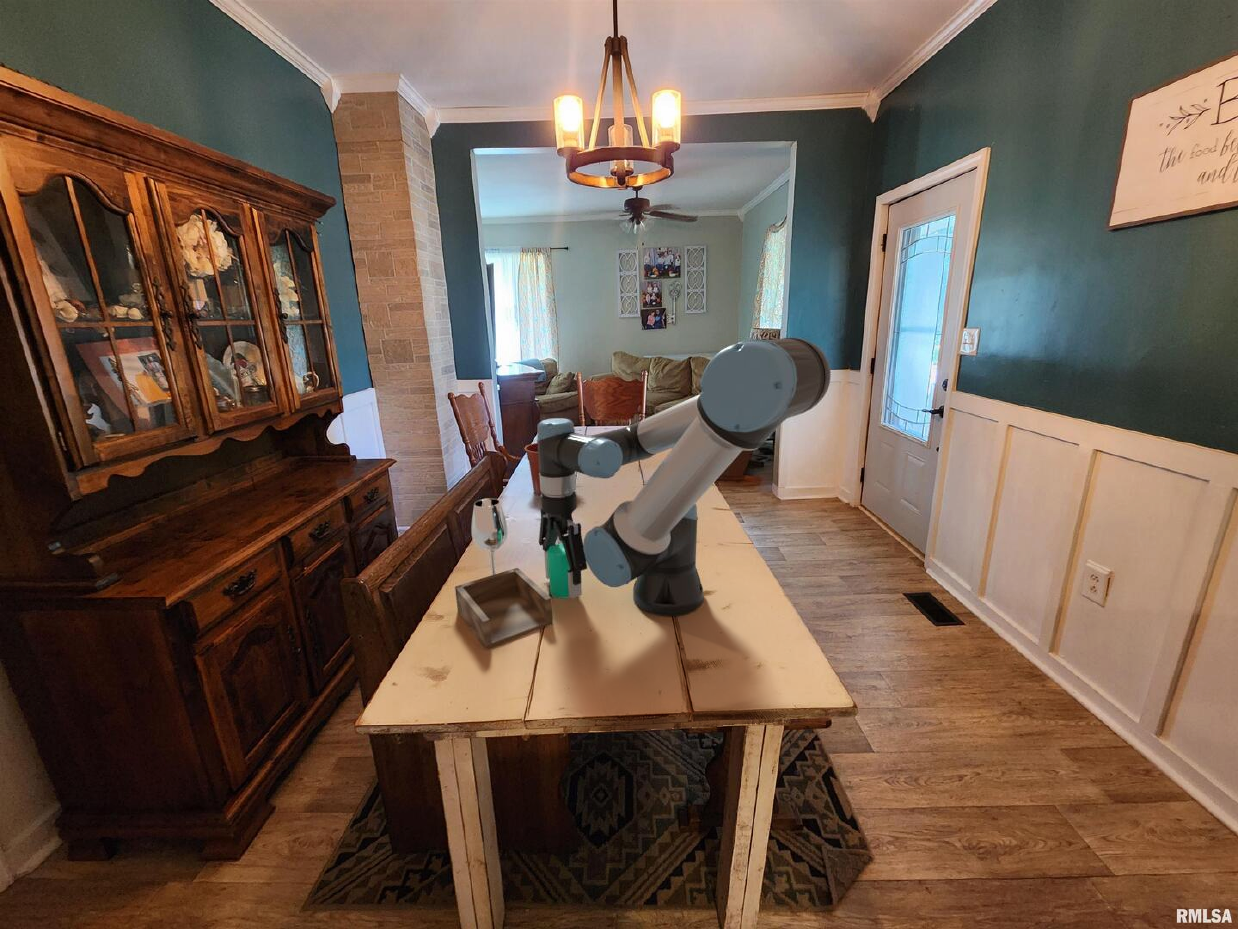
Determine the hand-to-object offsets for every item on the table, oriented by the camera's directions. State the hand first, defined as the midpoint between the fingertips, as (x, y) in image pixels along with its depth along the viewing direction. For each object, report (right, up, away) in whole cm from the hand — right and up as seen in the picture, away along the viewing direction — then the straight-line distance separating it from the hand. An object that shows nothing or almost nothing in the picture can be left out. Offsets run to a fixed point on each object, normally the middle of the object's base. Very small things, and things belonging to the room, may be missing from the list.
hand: (563, 586), depth 115 cm
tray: (-11, -4, -9) cm, 15 cm away
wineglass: (-16, -1, +4) cm, 17 cm away
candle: (0, -1, 0) cm, 2 cm away
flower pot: (-12, +18, +69) cm, 72 cm away
